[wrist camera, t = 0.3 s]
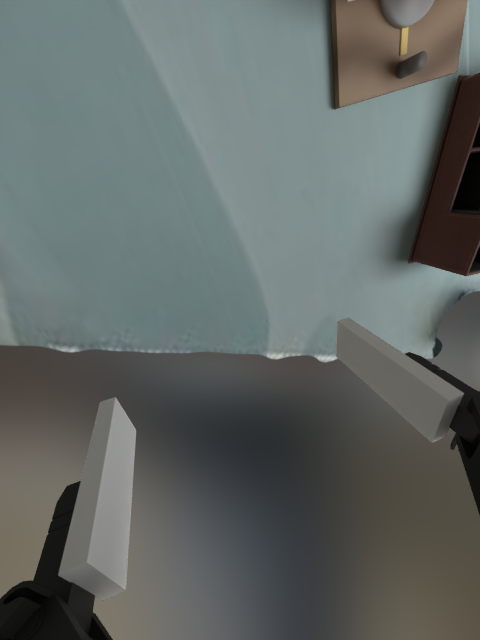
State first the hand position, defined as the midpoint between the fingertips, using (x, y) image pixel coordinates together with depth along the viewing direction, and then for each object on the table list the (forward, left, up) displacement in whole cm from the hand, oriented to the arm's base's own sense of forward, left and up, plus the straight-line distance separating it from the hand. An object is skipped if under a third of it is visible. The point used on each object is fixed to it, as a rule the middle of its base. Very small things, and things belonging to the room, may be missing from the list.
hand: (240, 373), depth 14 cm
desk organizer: (+3, +51, -28) cm, 59 cm away
